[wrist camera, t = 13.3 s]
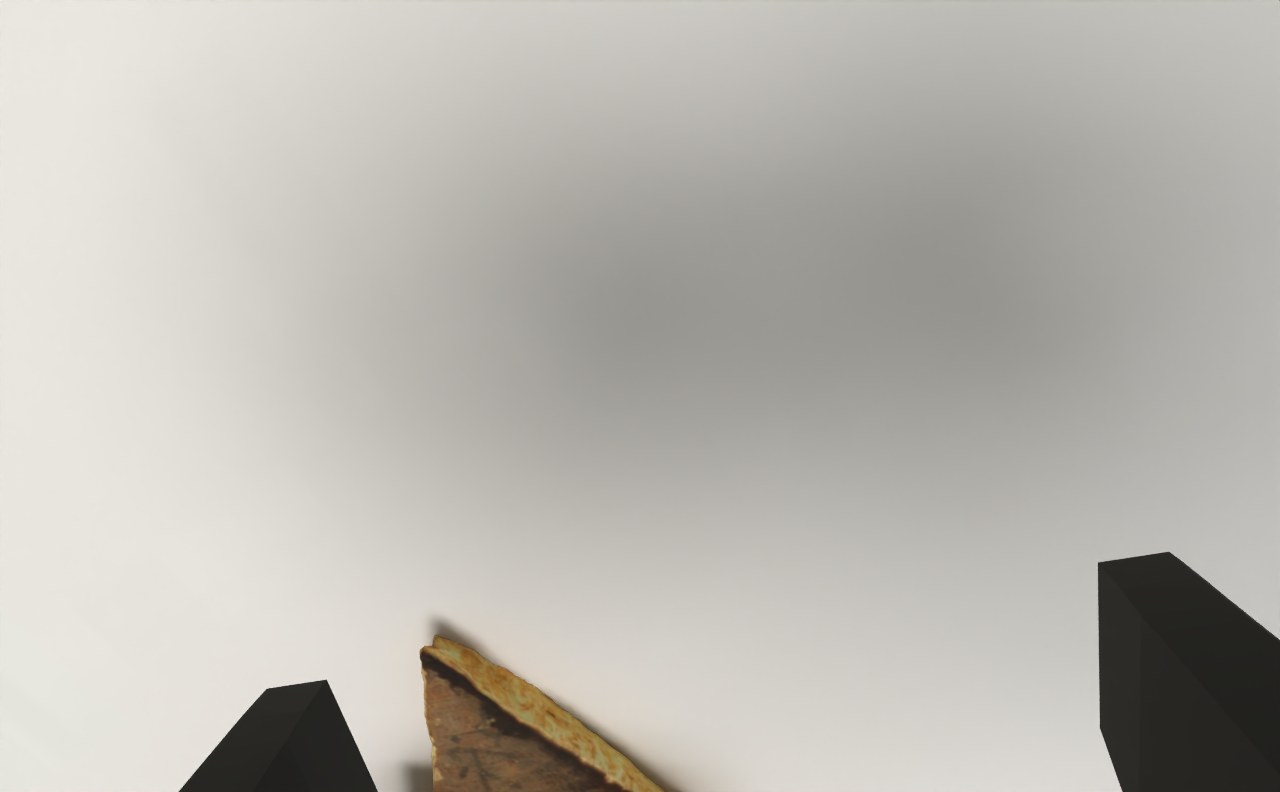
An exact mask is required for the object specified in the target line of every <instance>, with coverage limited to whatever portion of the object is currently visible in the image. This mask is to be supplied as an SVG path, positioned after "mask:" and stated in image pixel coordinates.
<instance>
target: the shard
mask: <svg viewBox="0 0 1280 792" xmlns="http://www.w3.org/2000/svg"><path fill="white" fill-rule="evenodd" d="M420 660H421V662H422V668H421V673H422V677H423V680H424V705H425V718H426V724H427V727H428V732H429V736H430V739H431V742H432V753H431V757H432V765H433V781H434V783H433V788H434V792H665V791H664V790H663V789H661V788H660V787H659V786H658V785H656V784H655V783H654V782H652V781H651V780H650V779H648V778H647V777H646V776H645V775H644V774H643V773H642V772H641V771H639V770H638V769H637V768H636V767H635V766H634V765H633V763H632V762H631V761H630V760H629V759H628V758H627V757H625V756H624V755H623V754H621V753H620V752H619V751H617V750H615V749H613V748H612V747H611V746H610V745H608V744H607V743H606V742H605V741H604V740H603V739H602V738H601V737H599V736H598V735H597V734H595V733H593V732H591V731H589V730H588V729H587V728H586V727H584V726H583V725H582V723H581V722H580V721H579V720H577V719H576V718H575V717H573V716H572V715H571V714H570V713H568V712H567V711H565V710H563V709H561V708H559V707H558V706H557V705H556V704H555V703H554V702H553V701H552V700H551V699H550V698H548V697H547V696H545V695H544V694H543V693H542V692H541V691H540V690H539V689H538V688H536V687H534V686H533V685H531V684H529V683H527V682H526V681H524V680H523V679H521V678H519V677H517V676H515V675H514V674H513V673H511V672H510V671H509V670H507V669H504V668H501V667H499V666H496V665H494V664H492V663H491V662H489V661H487V660H486V659H484V658H483V657H481V656H480V655H479V654H478V653H477V652H475V651H474V650H472V649H469V648H466V647H464V646H462V645H460V644H458V643H456V642H453V641H450V640H448V639H442V638H440V637H438V636H436V635H435V636H434V640H433V645H432V646H424V647H423V648H422V649H420Z"/></svg>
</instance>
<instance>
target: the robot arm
mask: <svg viewBox="0 0 1280 792" xmlns="http://www.w3.org/2000/svg"><path fill="white" fill-rule="evenodd" d="M1098 606H1099V687H1100V729H1101V732H1102V735H1103V738H1104V741H1105V743H1106V746H1107V749H1108V752H1109V755H1110V758H1111V760H1112V763H1113V766H1114V769H1115V772H1116V775H1117V777H1118V780H1119V783H1120V786H1121V789H1122V791H1123V792H1280V640H1279V639H1278V638H1277V637H1275V636H1274V635H1273V634H1272V633H1270V632H1269V631H1268V630H1267V629H1265V628H1264V627H1263V626H1261V625H1260V624H1259V623H1258V622H1256V621H1255V620H1254V619H1253V618H1251V617H1250V616H1249V615H1248V614H1246V613H1245V612H1244V611H1243V610H1242V609H1240V608H1239V607H1238V606H1237V605H1235V604H1234V603H1233V602H1232V601H1230V600H1229V599H1228V598H1227V597H1225V596H1224V595H1223V594H1222V593H1221V592H1219V591H1218V590H1217V589H1216V588H1214V587H1213V586H1212V585H1211V584H1210V583H1208V582H1207V581H1206V580H1205V579H1203V578H1202V577H1201V576H1200V575H1198V574H1197V573H1196V572H1195V571H1193V570H1192V569H1191V568H1190V567H1189V566H1187V565H1186V564H1185V563H1184V562H1182V561H1181V560H1180V559H1178V558H1177V557H1175V556H1174V555H1173V554H1171V553H1170V552H1165V553H1158V554H1151V555H1145V556H1138V557H1132V558H1125V559H1119V560H1112V561H1105V562H1099V563H1098ZM179 792H378V791H377V789H376V787H375V784H374V782H373V780H372V778H371V776H370V773H369V771H368V769H367V767H366V765H365V762H364V760H363V758H362V756H361V754H360V752H359V749H358V747H357V745H356V743H355V741H354V738H353V736H352V734H351V732H350V730H349V727H348V725H347V723H346V721H345V719H344V717H343V714H342V712H341V710H340V708H339V706H338V703H337V701H336V699H335V697H334V695H333V693H332V690H331V688H330V686H329V684H328V682H327V680H322V681H315V682H308V683H302V684H295V685H289V686H282V687H276V688H269V689H266V690H265V691H264V692H263V694H262V695H261V696H260V697H259V698H258V699H257V700H256V701H255V702H254V703H253V705H252V706H251V707H250V708H249V709H248V710H247V711H246V712H245V714H244V715H243V716H242V717H241V718H240V719H239V721H238V722H237V723H236V724H235V725H234V726H233V728H232V729H231V730H230V731H229V732H228V733H227V735H226V736H225V737H224V738H223V739H222V741H221V742H220V743H219V744H218V745H217V747H216V748H215V749H214V750H213V751H212V753H211V754H210V755H209V756H208V757H207V759H206V760H205V761H204V762H203V763H202V764H201V766H200V767H199V768H198V769H197V770H196V772H195V773H194V774H193V775H192V776H191V778H190V779H189V780H188V781H187V782H186V784H185V785H184V786H183V787H182V788H181V790H180V791H179Z"/></svg>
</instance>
